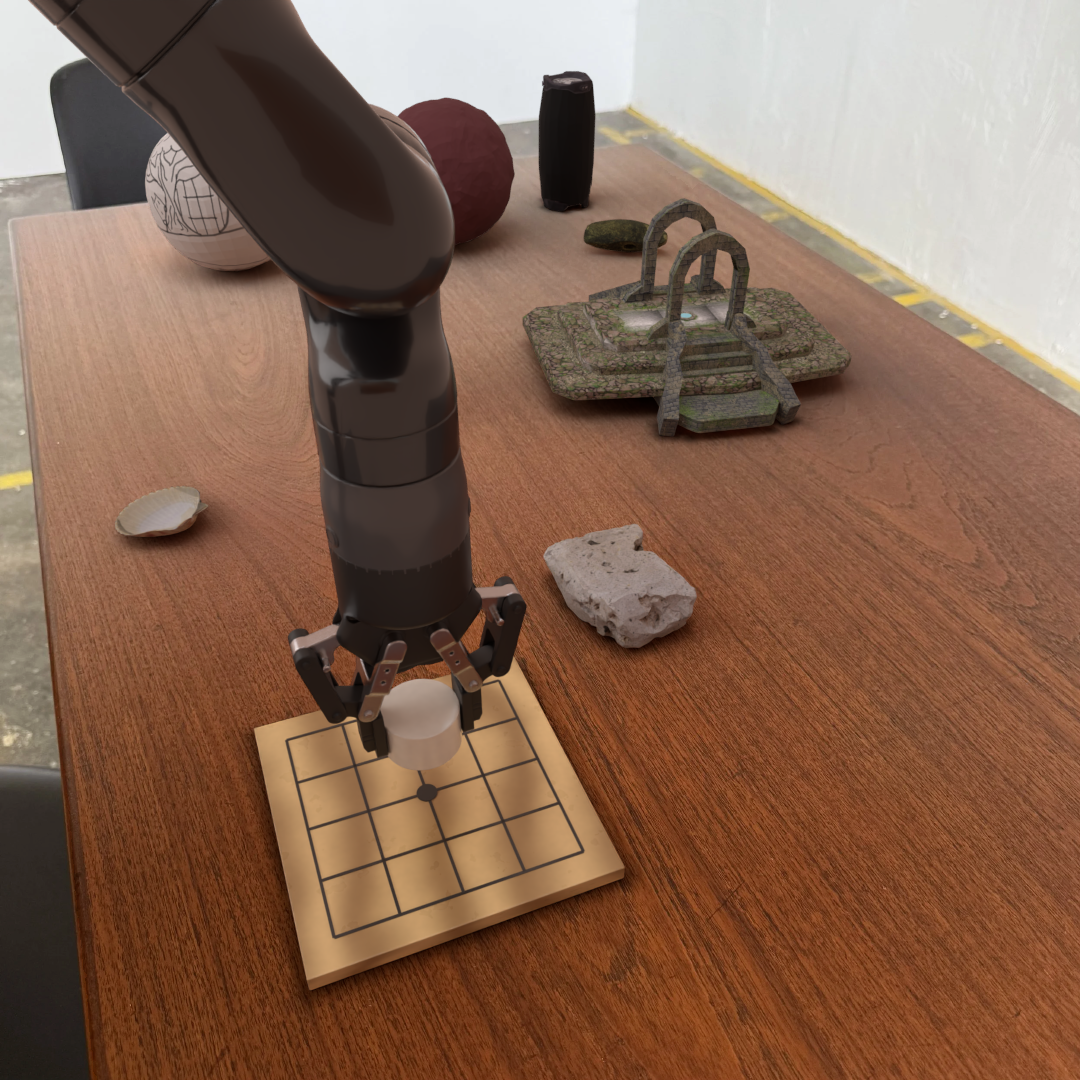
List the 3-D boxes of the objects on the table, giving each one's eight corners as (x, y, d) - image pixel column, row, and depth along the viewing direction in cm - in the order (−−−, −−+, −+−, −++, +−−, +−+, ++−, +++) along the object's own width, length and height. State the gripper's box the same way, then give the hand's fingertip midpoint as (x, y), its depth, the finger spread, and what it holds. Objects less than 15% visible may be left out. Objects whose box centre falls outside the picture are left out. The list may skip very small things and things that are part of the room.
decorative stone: (644, 239, 148) (646, 206, 145) (670, 256, 142) (673, 223, 139) (580, 250, 144) (581, 217, 141) (604, 268, 139) (606, 234, 136)
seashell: (172, 510, 95) (98, 534, 89) (167, 480, 94) (93, 502, 88) (228, 525, 91) (154, 552, 85) (224, 495, 90) (149, 519, 83)
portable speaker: (530, 209, 158) (529, 80, 146) (553, 192, 165) (554, 67, 153) (578, 216, 155) (582, 85, 143) (599, 199, 162) (605, 72, 150)
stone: (613, 536, 89) (525, 582, 84) (618, 489, 85) (526, 535, 80) (714, 625, 81) (624, 681, 77) (725, 578, 77) (631, 634, 73)
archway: (570, 456, 100) (575, 290, 89) (510, 317, 126) (509, 175, 115) (881, 421, 106) (923, 262, 95) (763, 295, 132) (784, 159, 121)
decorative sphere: (527, 224, 153) (527, 88, 140) (494, 272, 137) (491, 124, 125) (408, 213, 156) (398, 79, 144) (363, 259, 141) (347, 114, 129)
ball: (337, 262, 140) (318, 116, 128) (218, 306, 128) (185, 149, 116) (255, 229, 150) (230, 91, 138) (138, 266, 138) (100, 119, 126)
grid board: (309, 991, 55) (306, 980, 55) (256, 739, 70) (253, 727, 69) (624, 878, 61) (625, 866, 61) (514, 667, 76) (514, 655, 75)
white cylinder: (395, 780, 59) (390, 748, 57) (375, 722, 63) (370, 690, 61) (472, 757, 61) (470, 725, 59) (448, 701, 64) (446, 669, 62)
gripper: (501, 456, 56) (507, 665, 66) (249, 510, 52) (298, 723, 62) (550, 530, 50) (548, 744, 61) (272, 597, 46) (321, 815, 57)
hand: (421, 733), depth 61 cm, fingers closed on white cylinder, 5 cm apart
